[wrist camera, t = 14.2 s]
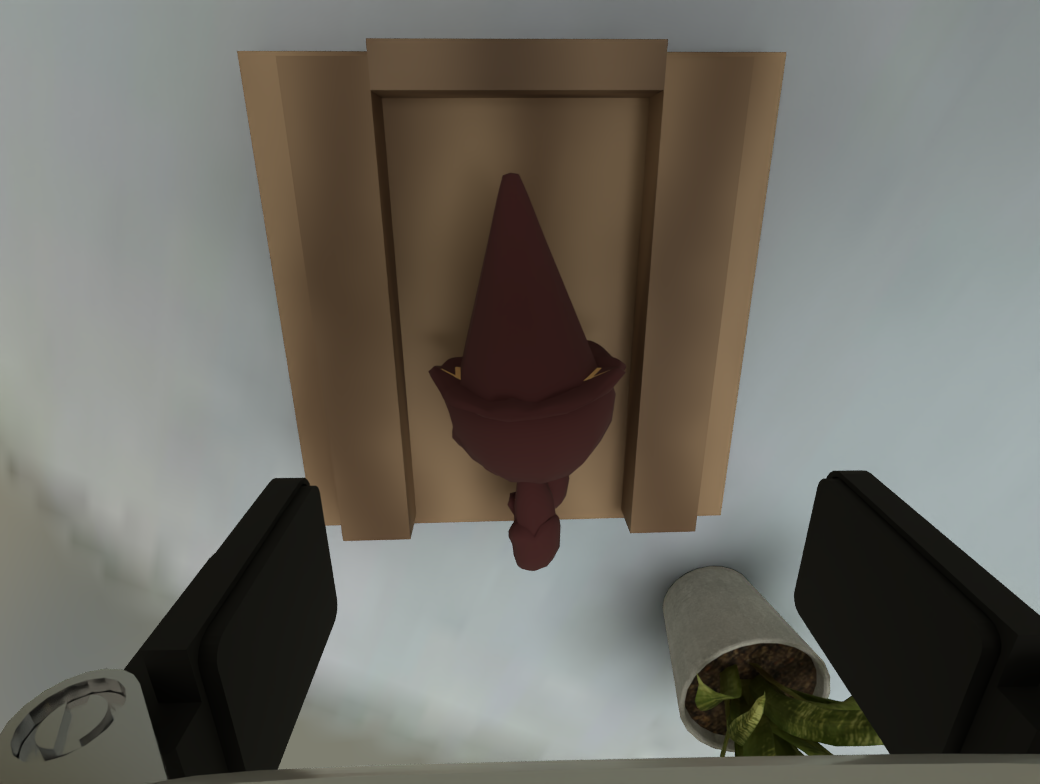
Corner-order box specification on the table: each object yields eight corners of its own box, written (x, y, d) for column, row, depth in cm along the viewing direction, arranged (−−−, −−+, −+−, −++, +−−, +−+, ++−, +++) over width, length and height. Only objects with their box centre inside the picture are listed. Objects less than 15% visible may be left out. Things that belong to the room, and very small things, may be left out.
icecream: (357, 194, 16) (436, 585, 23) (620, 176, 14) (623, 604, 21) (438, 170, 22) (482, 484, 29) (630, 155, 20) (630, 492, 27)
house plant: (821, 700, 35) (1074, 1108, 20) (599, 720, 35) (680, 1146, 19) (853, 502, 30) (1230, 845, 14) (593, 525, 30) (696, 894, 14)
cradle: (768, 60, 22) (815, 39, 19) (709, 499, 29) (736, 539, 26) (253, 59, 21) (210, 38, 18) (322, 508, 29) (299, 551, 25)
